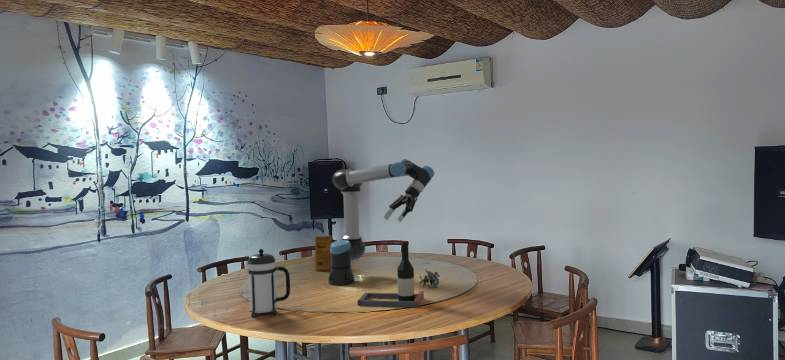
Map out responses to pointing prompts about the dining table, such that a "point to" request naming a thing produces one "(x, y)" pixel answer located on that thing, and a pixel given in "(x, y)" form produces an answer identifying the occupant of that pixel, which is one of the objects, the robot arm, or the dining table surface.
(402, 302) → the frame
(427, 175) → the robot arm
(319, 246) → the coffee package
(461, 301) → the dining table surface
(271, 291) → the coffee press
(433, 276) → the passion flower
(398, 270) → the wine bottle
